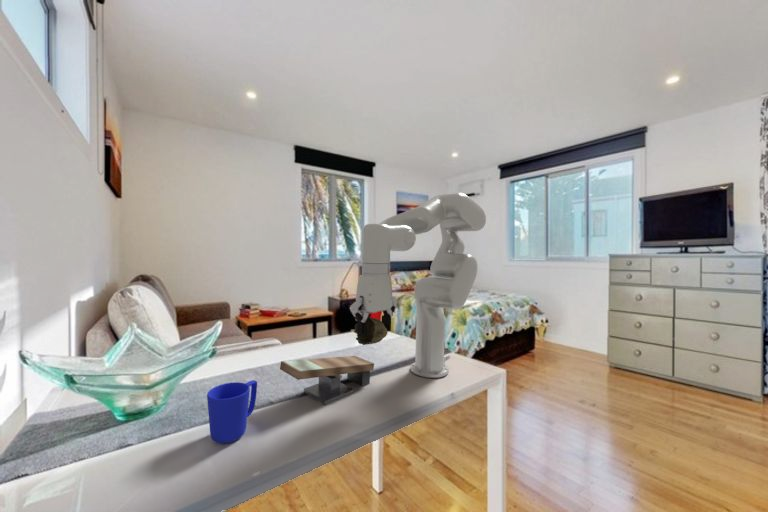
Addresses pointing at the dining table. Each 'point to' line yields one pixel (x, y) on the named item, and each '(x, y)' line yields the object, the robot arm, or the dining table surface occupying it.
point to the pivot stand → (336, 387)
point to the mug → (230, 410)
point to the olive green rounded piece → (372, 332)
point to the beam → (325, 367)
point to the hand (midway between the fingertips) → (374, 333)
